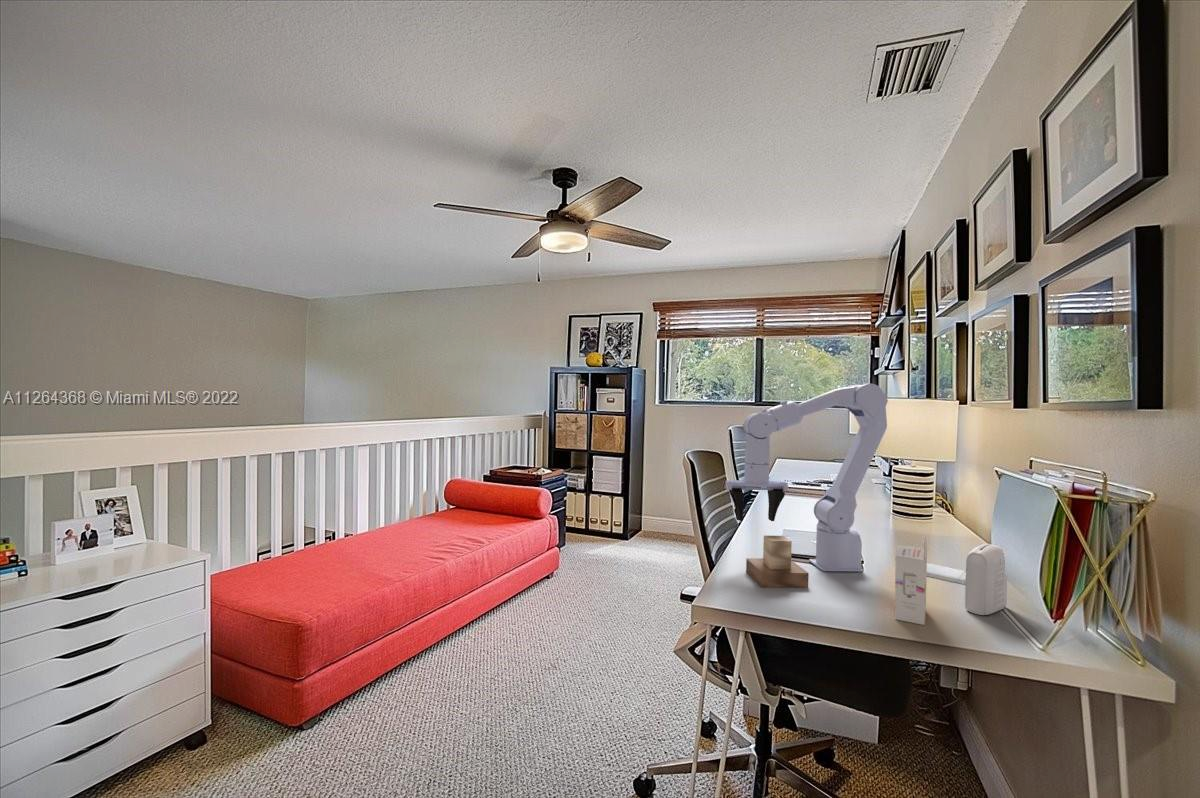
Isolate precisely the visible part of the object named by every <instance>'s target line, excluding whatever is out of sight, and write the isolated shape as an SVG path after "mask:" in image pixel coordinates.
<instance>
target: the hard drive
mask: <svg viewBox="0 0 1200 798" xmlns="http://www.w3.org/2000/svg"><path fill="white" fill-rule="evenodd" d="M927 577H929V578H933V579H938V580H941V581H946V582H947V581H948V582H952V583H956V584H961V585H965V584H966V583H965V582H966V570H961V569H957V568H951V567H948V566H947V567H946V566H944V565H937V564H933V563H928V562H927Z"/></svg>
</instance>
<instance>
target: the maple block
mask: <svg viewBox="0 0 1200 798" xmlns="http://www.w3.org/2000/svg"><path fill="white" fill-rule="evenodd" d="M792 542H793V541H792V540H790V539H789V538H788V537H787V536H785V535H763V544H762V545H763V547H762V549H763V550H762V553H763V556H762V558H763V563H764V564H765V565H767V566H768V567H769V568H770V569H791V560H792V546H793V545H792Z"/></svg>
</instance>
